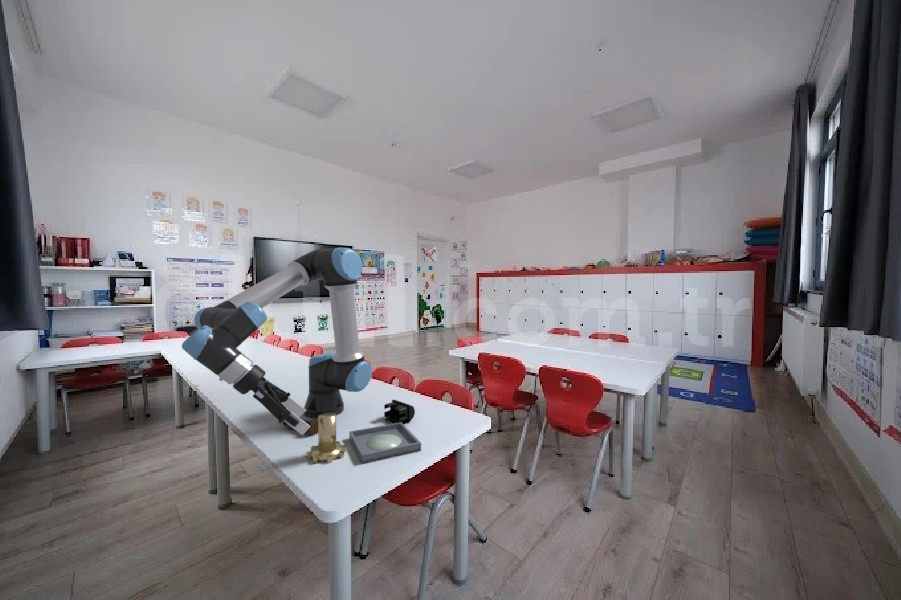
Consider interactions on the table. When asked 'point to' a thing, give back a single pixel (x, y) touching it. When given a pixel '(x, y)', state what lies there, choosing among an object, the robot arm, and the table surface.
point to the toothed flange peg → (326, 441)
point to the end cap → (399, 412)
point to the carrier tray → (383, 442)
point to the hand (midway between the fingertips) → (304, 421)
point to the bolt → (311, 423)
